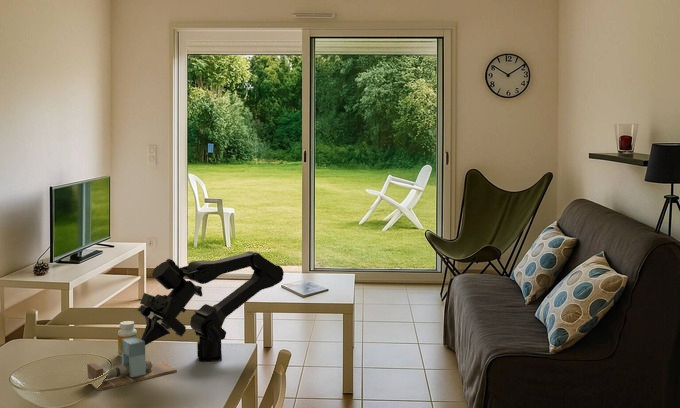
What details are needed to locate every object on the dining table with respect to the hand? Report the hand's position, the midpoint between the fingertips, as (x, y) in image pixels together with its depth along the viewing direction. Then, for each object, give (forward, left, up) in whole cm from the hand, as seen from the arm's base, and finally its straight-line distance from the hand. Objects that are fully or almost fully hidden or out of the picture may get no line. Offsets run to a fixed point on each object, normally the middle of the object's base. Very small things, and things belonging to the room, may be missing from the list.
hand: (141, 345), depth 185 cm
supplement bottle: (+5, -18, -8) cm, 20 cm away
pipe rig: (+2, +1, -8) cm, 9 cm away
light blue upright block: (+2, +1, -8) cm, 9 cm away
